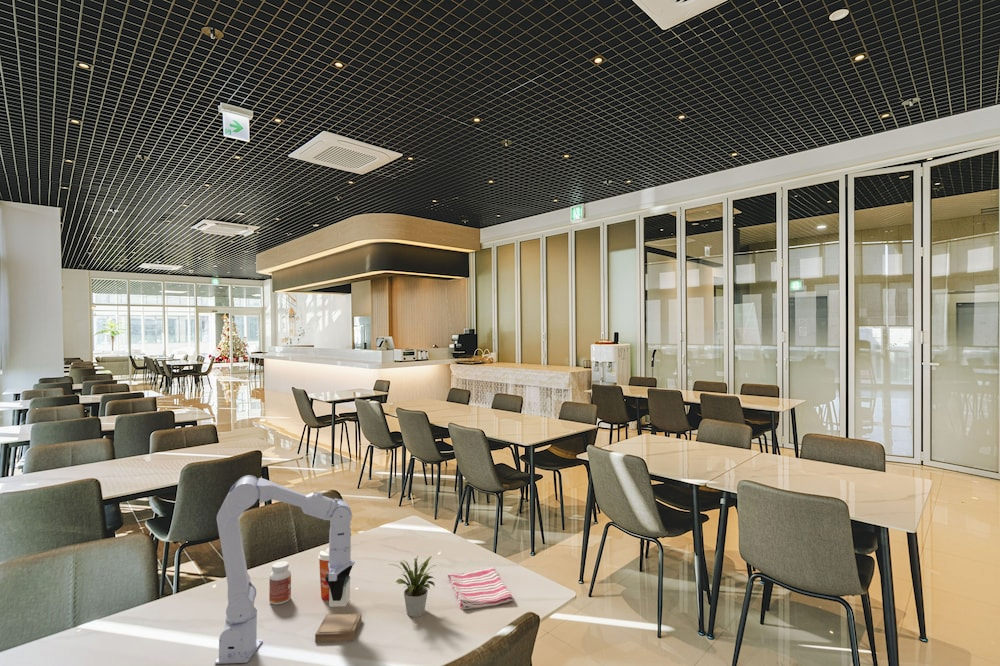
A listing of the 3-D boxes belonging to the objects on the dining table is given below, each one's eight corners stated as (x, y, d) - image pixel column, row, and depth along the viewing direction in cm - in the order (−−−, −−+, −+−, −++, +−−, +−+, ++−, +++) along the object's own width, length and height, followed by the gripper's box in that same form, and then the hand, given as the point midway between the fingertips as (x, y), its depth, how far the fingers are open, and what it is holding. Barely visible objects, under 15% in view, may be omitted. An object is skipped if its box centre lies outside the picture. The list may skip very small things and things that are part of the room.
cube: (345, 606, 137) (346, 583, 137) (328, 606, 137) (329, 584, 137) (350, 597, 142) (350, 576, 142) (333, 598, 142) (333, 576, 142)
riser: (353, 640, 134) (353, 632, 134) (315, 642, 134) (315, 633, 134) (361, 620, 144) (361, 613, 144) (326, 621, 144) (326, 613, 144)
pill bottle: (292, 601, 155) (293, 565, 155) (271, 607, 152) (271, 570, 152) (288, 593, 160) (289, 558, 161) (267, 598, 157) (268, 563, 157)
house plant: (388, 630, 139) (388, 570, 140) (385, 605, 153) (386, 551, 153) (439, 622, 143) (439, 565, 144) (432, 599, 157) (432, 546, 157)
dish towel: (460, 613, 149) (460, 601, 149) (446, 578, 172) (447, 568, 172) (514, 605, 154) (514, 593, 154) (494, 572, 176) (494, 562, 176)
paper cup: (312, 598, 157) (312, 553, 158) (331, 587, 164) (331, 544, 164) (330, 604, 153) (330, 558, 154) (348, 593, 160) (349, 549, 161)
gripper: (347, 556, 133) (347, 608, 132) (360, 536, 147) (360, 582, 147) (320, 557, 132) (320, 609, 132) (336, 536, 147) (335, 583, 146)
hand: (339, 595), depth 139 cm, fingers closed on cube, 4 cm apart
